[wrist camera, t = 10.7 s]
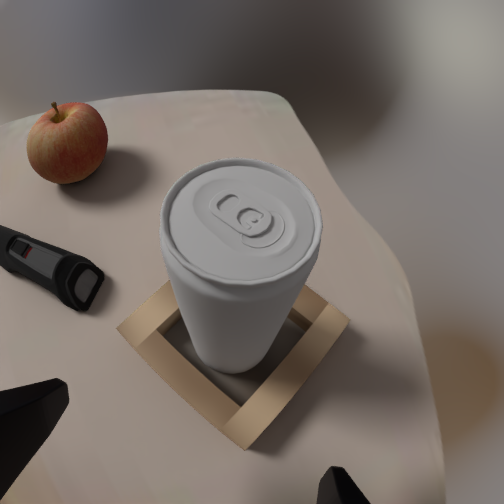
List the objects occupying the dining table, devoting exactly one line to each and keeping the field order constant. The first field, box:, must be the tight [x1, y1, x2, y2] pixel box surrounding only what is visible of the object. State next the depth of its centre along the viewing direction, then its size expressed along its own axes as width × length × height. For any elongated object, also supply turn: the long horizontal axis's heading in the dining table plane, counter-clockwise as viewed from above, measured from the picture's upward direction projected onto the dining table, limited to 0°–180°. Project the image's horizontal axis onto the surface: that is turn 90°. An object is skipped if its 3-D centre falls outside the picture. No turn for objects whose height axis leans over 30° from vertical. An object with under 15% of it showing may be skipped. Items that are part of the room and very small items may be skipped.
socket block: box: [116, 280, 350, 451], centre depth 18 cm, size 10×10×2 cm
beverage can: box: [159, 158, 323, 374], centre depth 13 cm, size 5×5×12 cm
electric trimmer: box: [0, 225, 104, 311], centre depth 19 cm, size 4×16×3 cm, turn 73°
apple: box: [27, 102, 108, 184], centre depth 22 cm, size 8×8×8 cm
